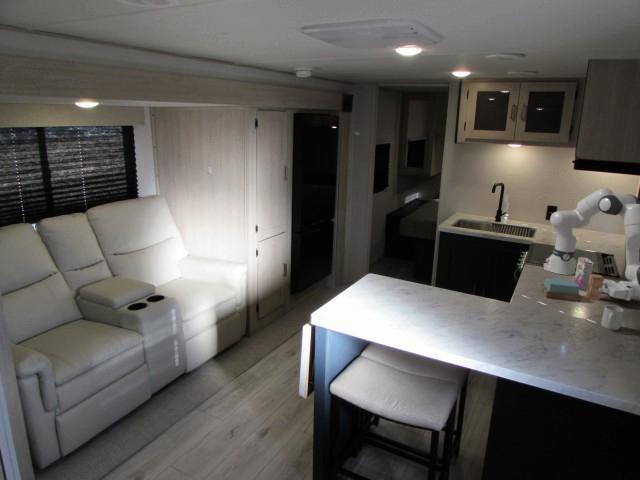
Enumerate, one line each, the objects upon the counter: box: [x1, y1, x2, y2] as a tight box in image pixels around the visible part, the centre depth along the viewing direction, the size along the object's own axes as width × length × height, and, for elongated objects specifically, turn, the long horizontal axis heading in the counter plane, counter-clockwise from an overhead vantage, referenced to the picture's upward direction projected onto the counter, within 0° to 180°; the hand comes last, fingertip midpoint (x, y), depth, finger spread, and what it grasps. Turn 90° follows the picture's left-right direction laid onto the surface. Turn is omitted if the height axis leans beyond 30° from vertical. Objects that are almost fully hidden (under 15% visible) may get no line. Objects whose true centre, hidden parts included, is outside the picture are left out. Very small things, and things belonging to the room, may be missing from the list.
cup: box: [600, 304, 624, 331], centre depth 204 cm, size 7×10×9 cm
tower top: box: [543, 277, 580, 294], centre depth 242 cm, size 10×14×4 cm
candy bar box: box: [573, 256, 595, 292], centre depth 256 cm, size 11×5×16 cm, turn 168°
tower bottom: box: [540, 283, 582, 303], centre depth 243 cm, size 13×16×4 cm
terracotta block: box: [585, 274, 605, 301], centre depth 241 cm, size 5×5×12 cm
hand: (595, 286), depth 241 cm, fingers open, 8 cm apart
